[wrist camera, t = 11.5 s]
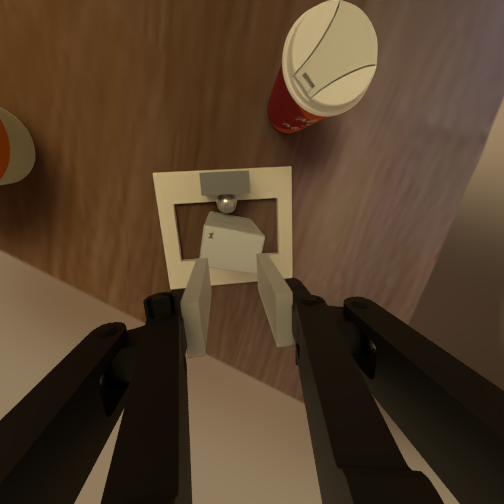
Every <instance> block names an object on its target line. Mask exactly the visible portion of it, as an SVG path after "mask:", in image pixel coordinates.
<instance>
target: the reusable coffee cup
mask: <svg viewBox="0 0 504 504" xmlns="http://www.w3.org/2000/svg"><path fill="white" fill-rule="evenodd" d="M35 154H36V152H35V146H34V142H33V140H32V137H31V135H30V133H29V131H28V130H27V128H26V127H25V126H24V124H23V123H22V122H21V121H20V120H19V119H18V118H17V117H16V116H14V115H13V114H11V113H10V112H8V111H7V110H5V109H3V108H1V107H0V185H5V184H12V183H15V182H18V181H20V180H22V179H23V178H25V177H26V176H27V175H28V174H29V173H30V171H31V170H32V168H33V166H34V162H35Z"/></svg>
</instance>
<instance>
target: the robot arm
mask: <svg viewBox="0 0 504 504" xmlns="http://www.w3.org/2000/svg"><path fill="white" fill-rule="evenodd" d="M256 259H257V280H258V291H259V294H260V297H261V300H262V303H263V306H264V309H265V312H266V315H267V319H268V322H269V325H270V328H271V331H272V334H273V337H274V340H275V343H276V346H277V347H285V346H293V337H294V339H295V341H296V365H298V367H299V373H300V378H301V384H302V390H303V396H304V401H305V406H306V412H307V418H308V424H309V430H310V435H311V441H312V447H313V453H314V458H315V464H316V470H317V475H318V481H319V487H320V493H321V498H322V504H444V503H443V501H442V499H441V497H440V495H439V494H438V492H437V490H436V489H435V487H434V486H433V484H432V483H431V481H430V480H429V478H428V477H426V475H424V474H423V473H422V472H421V471H412V470H411V469H410V468H409V467H408V465H407V464H406V462H405V460H404V458H403V456H402V454H401V452H400V450H399V448H398V446H397V444H396V442H395V440H394V438H393V436H392V434H391V432H390V430H389V428H388V426H387V424H386V422H385V420H384V418H383V416H382V414H381V412H380V410H379V408H378V406H377V404H376V402H375V400H374V398H373V396H374V397H375V399H376V400H377V401H378V402H379V403H380V405H381V406H382V407H383V408H384V410H385V411H386V412H387V413H388V415H389V416H390V417H391V418H392V420H393V421H394V422H395V423H396V425H397V426H398V427H399V428H400V429H401V431H402V432H403V433H404V435H405V436H406V437H407V438H408V440H409V441H410V442H411V443H412V445H413V446H414V447H415V448H416V450H417V451H418V452H419V453H420V455H421V456H422V457H423V458H424V459H425V461H426V462H427V463H428V465H429V466H430V467H431V468H432V469H433V471H434V472H435V473H436V474H437V476H438V477H439V478H440V479H441V481H442V482H443V483H444V484H445V486H446V487H447V488H448V489H449V491H450V492H451V493H452V494H453V496H454V497H455V498H456V499H457V501H458V502H459V503H460V504H504V391H503V390H501V389H500V388H499V387H497V386H496V385H494V384H493V383H491V382H490V381H488V380H487V379H486V378H484V377H483V376H481V375H480V374H478V373H477V372H475V371H474V370H472V369H471V368H470V367H468V366H467V365H465V364H464V363H462V362H461V361H459V360H458V359H456V358H455V357H453V356H452V355H451V354H449V353H448V352H446V351H445V350H443V349H442V348H440V347H439V346H437V345H436V344H435V343H433V342H432V341H430V340H429V339H427V338H426V337H424V336H423V335H421V334H420V333H418V332H417V331H415V330H414V329H412V328H411V327H410V326H408V325H407V324H405V323H404V322H402V321H401V320H399V319H398V318H397V317H395V316H394V315H392V314H391V313H389V312H388V311H386V310H385V309H383V308H382V307H380V306H379V305H378V304H376V303H375V302H373V301H371V300H369V299H366V298H363V297H350V298H347V299H345V300H344V307H336V306H328V305H327V304H326V302H325V300H324V299H323V298H321V297H319V296H315V295H311V294H310V292H309V291H308V290H307V289H306V287H305V286H304V285H303V284H302V282H301V281H300V280H298V279H295V278H286V279H284V278H283V277H282V275H281V274H280V272H279V271H278V269H277V268H276V266H275V265H274V263H273V261H272V260H271V258H270V257H269V255H268V254H267V253H259V254H256ZM211 296H212V292H211V282H210V273H209V263H208V258H197V259H196V262H195V264H194V267H193V270H192V272H191V275H190V278H189V281H188V283H187V286H186V288H185V289H174V290H172V291H171V292H162V293H157V294H154V295H151V296H149V297H147V298H146V299H145V300H144V301H143V303H144V308H145V313H146V319H147V320H146V324H145V325H144V326H142V327H138V328H135V329H131V330H127V329H126V326H125V324H124V323H121V322H114V323H107V324H104V325H101V326H100V327H98V328H96V329H94V330H93V331H92V332H90V334H88V335H87V336H86V337H85V338H84V339H83V340H82V341H81V342H80V343H79V344H78V345H77V346H76V347H75V348H74V349H73V350H72V351H71V352H70V353H69V354H68V355H67V356H66V357H65V358H64V359H63V360H62V361H61V362H60V363H59V364H58V365H57V366H56V367H55V368H54V369H52V371H51V372H49V373H48V374H47V375H46V376H45V377H44V378H43V379H42V380H41V381H40V382H39V383H38V384H37V385H36V386H35V387H34V388H33V389H32V390H31V391H30V392H29V393H28V394H27V395H26V396H25V397H24V398H23V399H22V400H21V401H20V402H19V403H18V404H17V405H16V406H15V407H14V408H13V409H12V410H11V411H10V412H8V414H6V415H5V416H4V417H3V418H2V419H1V420H0V504H74V502H75V501H76V499H77V497H78V495H79V493H80V491H81V489H82V487H83V485H84V484H85V482H86V480H87V478H88V476H89V474H90V472H91V470H92V468H93V466H94V465H95V463H96V461H97V459H98V457H99V455H100V453H101V451H102V449H103V447H104V445H105V444H106V442H107V440H108V438H109V436H110V434H111V432H112V430H113V428H114V426H115V425H116V423H117V421H118V419H119V417H120V415H121V413H122V411H123V409H124V413H123V416H122V420H121V424H120V428H119V432H118V436H117V441H116V444H115V449H114V452H113V456H112V461H111V464H110V469H109V472H108V476H107V481H106V484H105V488H104V492H103V496H102V500H101V504H192V487H191V462H190V437H189V412H188V389H187V364H186V358H185V354H186V349H187V354H188V358H192V357H200V356H205V351H206V342H207V333H208V324H209V315H210V306H211ZM373 343H374V345H375V347H376V349H374V348H373ZM372 395H373V396H372ZM124 407H125V408H124Z"/></svg>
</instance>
